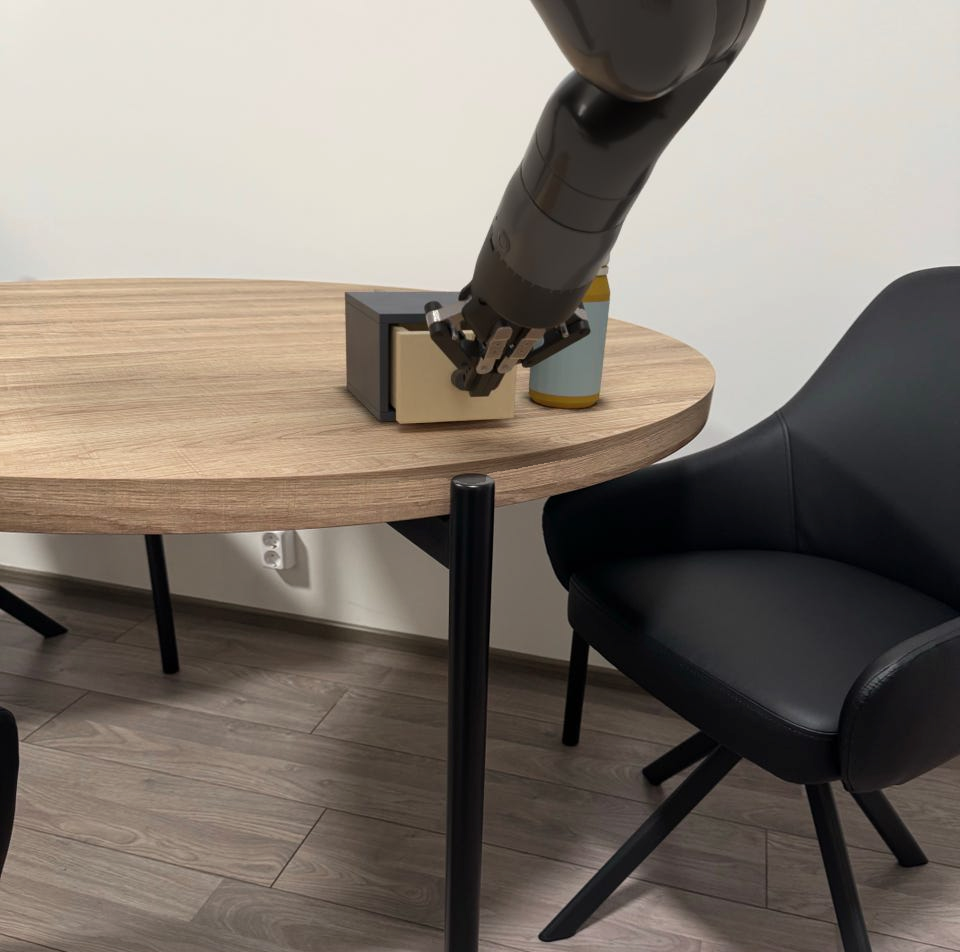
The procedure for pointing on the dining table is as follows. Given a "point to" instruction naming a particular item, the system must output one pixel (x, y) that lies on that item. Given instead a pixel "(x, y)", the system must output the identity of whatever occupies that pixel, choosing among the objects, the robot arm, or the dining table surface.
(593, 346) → the bottle
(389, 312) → the cabinet
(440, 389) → the drawer
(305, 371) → the dining table surface
